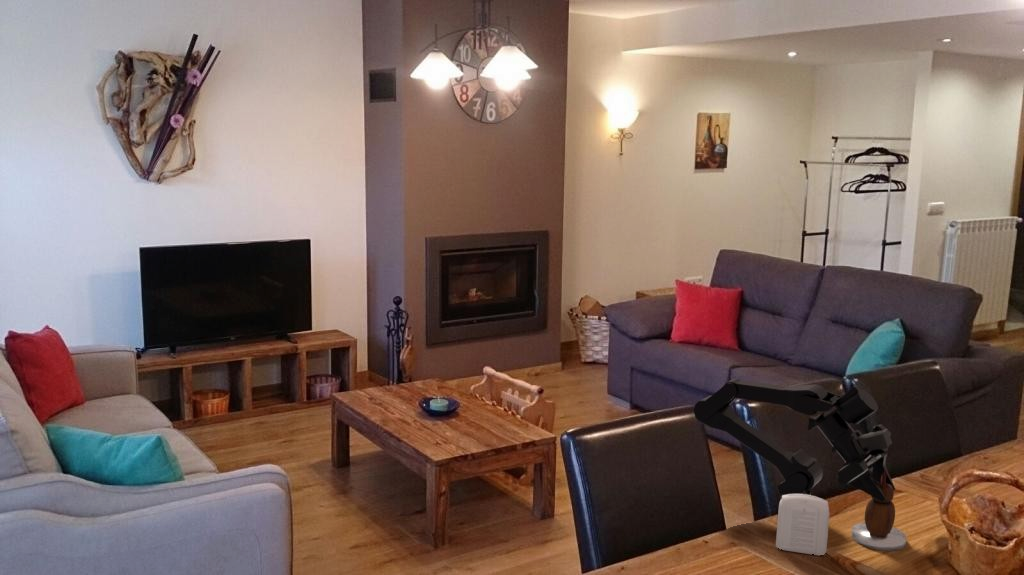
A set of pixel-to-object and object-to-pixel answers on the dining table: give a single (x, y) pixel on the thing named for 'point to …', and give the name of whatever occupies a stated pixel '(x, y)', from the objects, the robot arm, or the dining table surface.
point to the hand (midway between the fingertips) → (888, 495)
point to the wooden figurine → (881, 510)
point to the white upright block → (803, 524)
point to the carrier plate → (879, 538)
